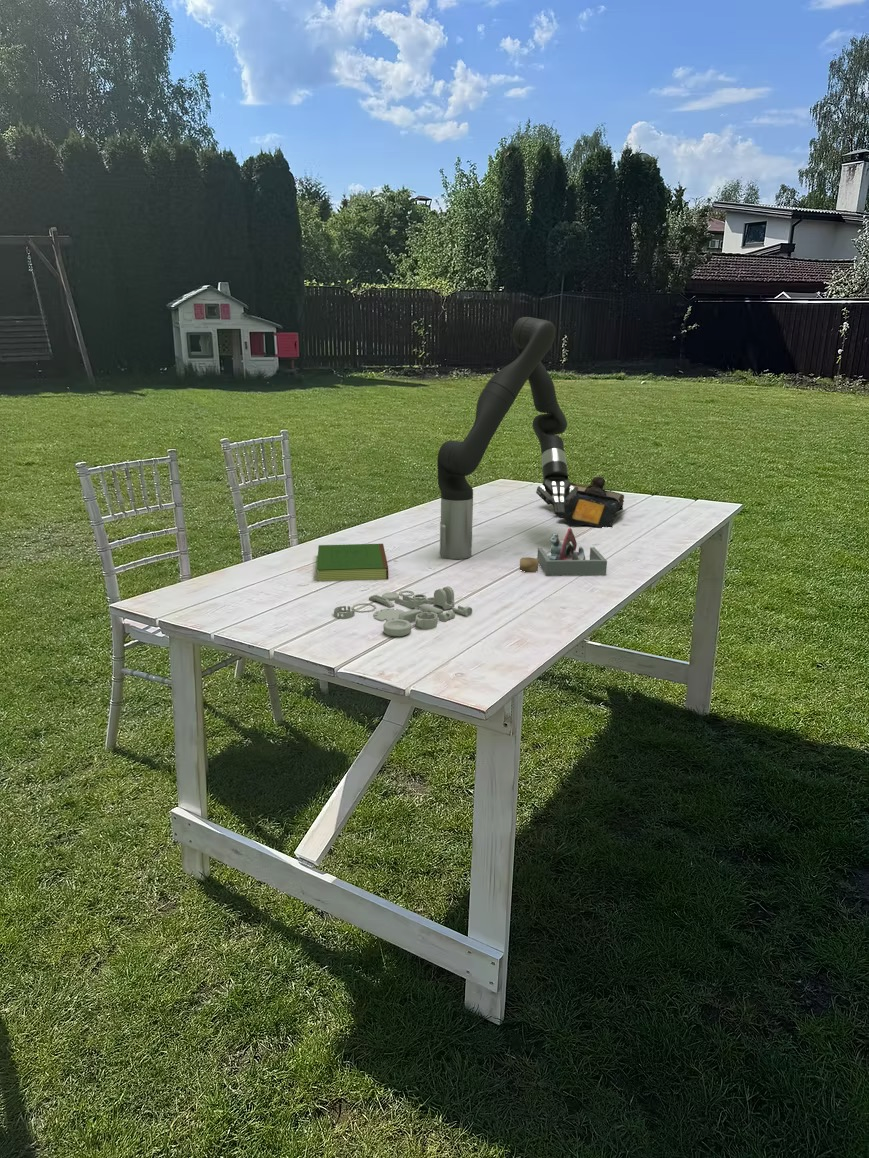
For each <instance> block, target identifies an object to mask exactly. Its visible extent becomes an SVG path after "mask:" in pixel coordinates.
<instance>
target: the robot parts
mask: <svg viewBox="0 0 869 1158" xmlns="http://www.w3.org/2000/svg"><path fill="white" fill-rule="evenodd" d="M404 593H408V594H404ZM400 596H401V597H402V599H401V598H400ZM368 601H371V602H378V603H381V604H383V605H385V606H386V607H387V608H383V609H380V610H377V606H376V605H375V604H373V603H369V602H368V603H367V602H364V603H362V602H361V603H356V604H353V606H349V605H348V606H346V605H342V606H337V607H335V608H334V609H333V617H335V618H336V619H342V620H343V619H344V620H345V619H350V618H351V619H352V618H353V617H355V613H360V614H361V613H363V614H364V613H370V612H373V611H375V610H377V611H375V612H374V613H373V614H372V617H373V619H375V620H376V621H379V622H384V621H385V622H384V623H383V633H384V634H386V635H387V636H390V637H404V636H407V635H409V634H410V633H411V632H412V623H415V627H416V628H419V629H420V630H421V629H422V630H430V629H432V630H433V629H434V628H437V625H438V622H439V621H442V622H447V621H448V620H452V619H455V617H456V613H457V614H459V615H462V616H464V617H470V616H471V615H472V614H473V608H472V607H470V606H462V605H458V606H457V608H456V607H455V591H454V590H453V588H452V587H451V586H445V587H443V588H438V589H436V590H434V592H433V597H427V595H426V594H424V593H423V594H422V593H418V594H417V593H416V594H415V592H414V591H413V590H402V591H399V592H398V593H397V592H394V591H390V592H388V591H387V592H384V593H383V594H382V595H378V594H375V595H371V596H369V597H368ZM393 601H394V603H396V604H398V605H400V606H404V607H406V608H410V609H409V610H407V611H404V609H399V608H395V609H394V607H395V605H394V604H393ZM364 605H365V606H371V607H373V608H372V609H370V610H358V609H355V607H358V606H364ZM444 610H445V611H446V610H449V611H446V612H444ZM342 615H343V616H342ZM438 620H439V621H438Z"/></svg>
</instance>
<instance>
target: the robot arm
mask: <svg viewBox="0 0 869 1158" xmlns="http://www.w3.org/2000/svg"><path fill="white" fill-rule="evenodd" d="M555 338H556V326H555V324H553V322H552V321H550V320H546V319H541V318H538V317H537V318H536V317H530V316H522V317H520V318H518V319H517V320H516V322H515V323H514V325H513V329H512V341H513V344H514V347H515V350H516V352H517V354H518V356H517V358H515V359H514V361H512V362H510V363H509V364H507V365H506V366H504V367H503V368H502V369H500V370H499V371H497V372H496V373H494V375H492V376H491V378H489V380H488V381H487V383H486V385H485V386H484V388H483V389H482V391H481V393H480V394H479V397H478V398H477V403H476V409H475V418H474V422H473V425H472V427H471V428H470V430H469V432H468V434H467V435H466V437H465V438H464V439H463V441H459V440H456V439H455V440H454V439H452V440H447V441H446V440H445V441H444V442H443V443H442V444H441V446H440V448H439V450H438V453H437V463H436V464H437V467H436V468H437V484H438V488H439V491H440V521H439V555H440V558H441V559H451V560H462V559H463V560H464V559H468V558H471V557H472V554H473V553H472V552H473V523H474V522H473V520H474V518H473V517H474V516H473V515H474V513H473V511H474V489H473V487H472V486H471V485H470V484H469V483H468V480H467V479H466V477H467V476H469V475H471V474H473V472H475V471H476V470H477V468H478V467H479V465H480V463H481V461H482V460H483V457H484V455H485V452H486V450H487V449H488V446H489V445H490V442H491V441H492V438H493V437H494V435H495V434H496V432H497V430H498V428H499V427H500V425H501V423H502V421H503V420H504V418H505V416H506V415H507V413H508V412H509V411H510V410H511V407H512V405H513V404H514V402H515V400H516V399H517V397H518V395H519V393H520V392H521V390H522V389H523V387H524V386H525V384H526V382H527V381H528V384H529V387H530V391H531V392H530V393H531V396H532V401H533V405H534V406H533V407H534V408H535V410H536V411H537V412H538V413H541V414H538V415H536V416H534V418H533V420H532V428H533V432H534V433H535V436H536V437H537V440H538V442H539V445H540V450H541V451H540V452H541V470H542V471H541V472H542V477H543V478H542V479H543V480H542V481H543V482H542V485H540V486H539V485H538V486H537V488H536V491H535V493H536V494H537V495H538V496H539V497H540V498H541V499H542V501H544V502H545V504H547V506H548V505H549V506H553V512H554V513H553V514H554V515H555V516H556V517H557V518H559V517H562V515H563V514H564V511H565V509H564V505H568V504H569V502H570V501H571V500H572V499H573V497H574V496H575V495H576V493H577V491H578V487H575V488H574V487H573V486H571V483H572V482H570V479H569V471H568V464H567V457H566V453H565V447H564V444H565V443H564V440H563V438H562V437H561V436H559V435H560V434H563V433H565V431H566V430H567V427H568V422H567V417H566V415H565V414H564V412H563V409H561V407H560V405H559V403H558V400H557V393H556V389H555V384H554V382H553V379H552V377H551V375H550V373H549V372H548V370H547V369H546V367H545V365H543V362H542V360H543V359H544V357H545V356H546V354H548V352H549V350H550V349H551V348H552V345H553V343H554V342H555ZM545 490H546V491H545ZM568 490H570V491H569V493H570V494H569V495H568V496H567V497H566V498H565V499H564V495H565V494H566V492H567V491H568ZM550 495H551V496H550Z"/></svg>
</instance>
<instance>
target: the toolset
mask: <svg viewBox="0 0 869 1158" xmlns="http://www.w3.org/2000/svg"><path fill="white" fill-rule="evenodd" d="M570 483H571V486H573V487H574V488H575V487H578V491H577V493H576V495H575V496H574V497H573V499H572V500H571V501H570V502H569V504H568V505H564V509H565V511H564V514H563V515H562V517H558V518H559V519H563V520H564V519H565V520H566V521H567V526H569V527H571V526H577V527H581V526H585V525H589V526H593V527H595V528H600V529H603V528H602V527H604V528H608V527H612V528H613V525H612V523H613V522H614V519H615V517H616V516H617V513H618V512H620V511H622V510H624V502H625V500H624V499H625V495H624V494H622V493H619V492H615V491H611V490H606V489H604V487H605V484H606V480H605V478H604V477H603V476H595V477H593V478H592V480H591V482H590V484H589V485H588V486H584V485H582V484H577V483H572V482H570ZM545 491H546V490H545ZM569 491H570V490H568V491H567V492H566V494H565V495H564V499H565V498H566V497H567V496H568V495H569V494H570V493H569ZM550 496H551V495H550ZM577 527H576V528H577Z"/></svg>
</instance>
